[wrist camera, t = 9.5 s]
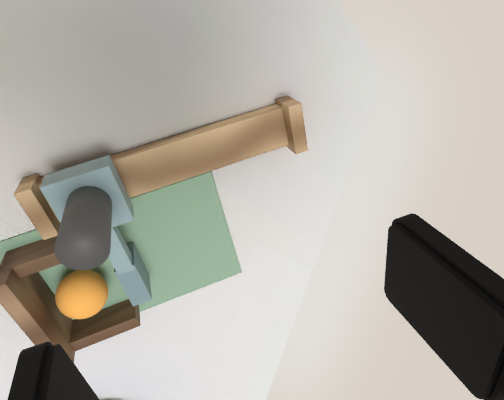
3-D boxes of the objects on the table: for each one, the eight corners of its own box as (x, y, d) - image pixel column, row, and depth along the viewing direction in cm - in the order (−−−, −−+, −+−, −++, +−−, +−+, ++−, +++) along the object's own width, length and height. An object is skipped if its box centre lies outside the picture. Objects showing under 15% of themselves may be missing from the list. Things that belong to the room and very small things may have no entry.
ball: (72, 298, 29) (106, 261, 33) (34, 292, 31) (70, 257, 34) (95, 333, 32) (125, 294, 35) (59, 326, 33) (90, 290, 37)
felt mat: (-13, 245, 31) (-13, 246, 31) (210, 170, 34) (211, 171, 34) (61, 340, 38) (61, 342, 37) (241, 271, 41) (241, 272, 41)
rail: (22, 178, 29) (13, 194, 27) (287, 95, 33) (301, 103, 30) (49, 221, 31) (43, 240, 29) (294, 139, 35) (307, 150, 33)
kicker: (48, 167, 29) (20, 232, 21) (109, 148, 30) (106, 203, 22) (116, 287, 36) (115, 370, 28) (164, 269, 37) (177, 344, 29)
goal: (6, 251, 31) (-12, 289, 27) (94, 221, 33) (90, 253, 28) (66, 332, 37) (59, 374, 33) (138, 304, 38) (141, 341, 34)
